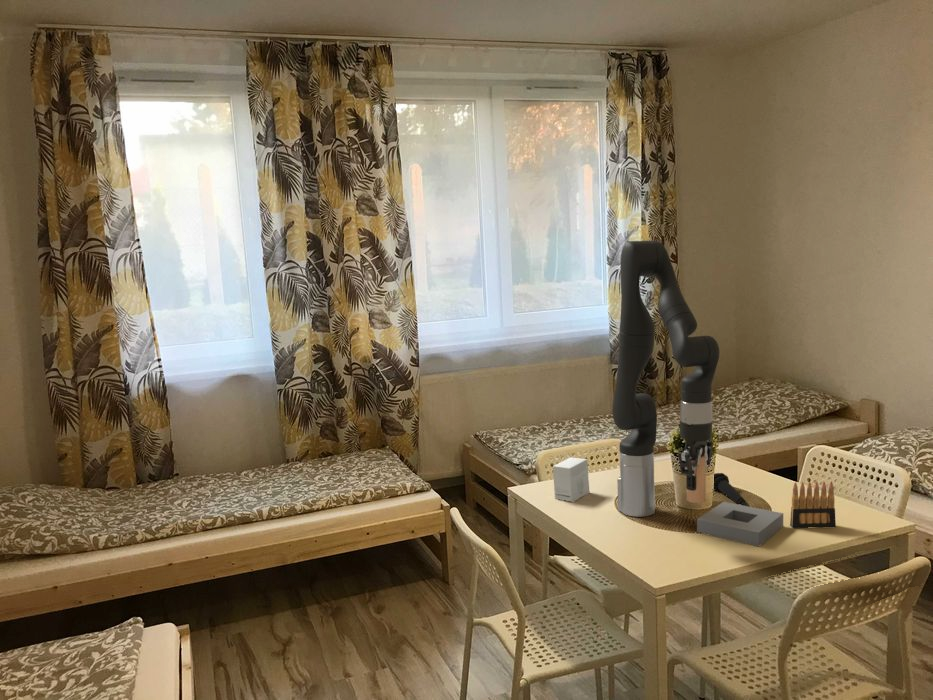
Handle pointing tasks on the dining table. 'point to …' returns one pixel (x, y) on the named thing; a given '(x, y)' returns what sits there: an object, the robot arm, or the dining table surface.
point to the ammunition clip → (813, 507)
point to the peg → (699, 483)
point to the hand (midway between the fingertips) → (696, 486)
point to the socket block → (740, 523)
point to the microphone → (727, 488)
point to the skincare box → (571, 479)
